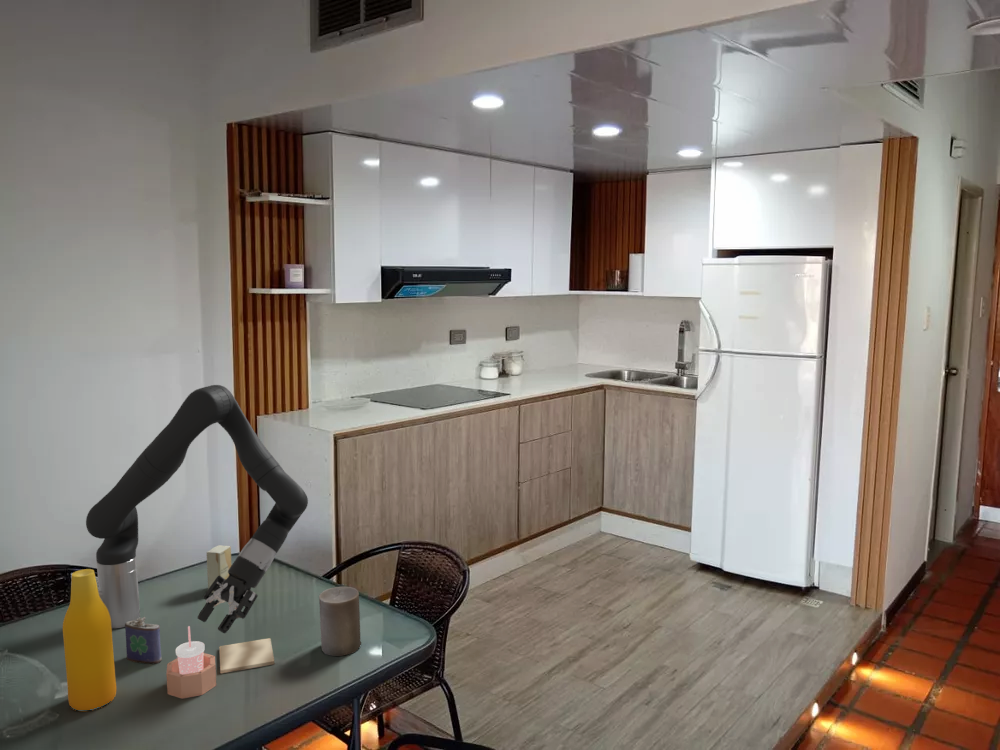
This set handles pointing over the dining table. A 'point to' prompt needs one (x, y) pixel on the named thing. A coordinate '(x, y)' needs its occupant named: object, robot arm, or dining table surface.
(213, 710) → the dining table surface
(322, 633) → the pillar candle
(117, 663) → the dining table surface
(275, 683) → the dining table surface
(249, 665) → the wooden coaster
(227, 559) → the skincare box
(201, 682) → the ceramic ring
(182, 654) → the beverage cup
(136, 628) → the flask
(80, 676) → the beer bottle
